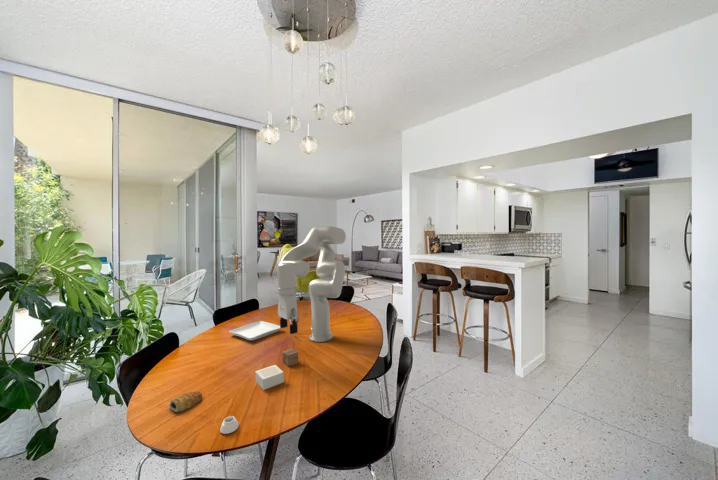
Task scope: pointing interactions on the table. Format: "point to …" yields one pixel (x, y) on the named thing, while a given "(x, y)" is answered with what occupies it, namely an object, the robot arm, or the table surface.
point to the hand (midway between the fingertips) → (288, 330)
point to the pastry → (185, 401)
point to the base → (269, 377)
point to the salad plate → (255, 330)
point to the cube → (290, 357)
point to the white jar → (229, 425)
